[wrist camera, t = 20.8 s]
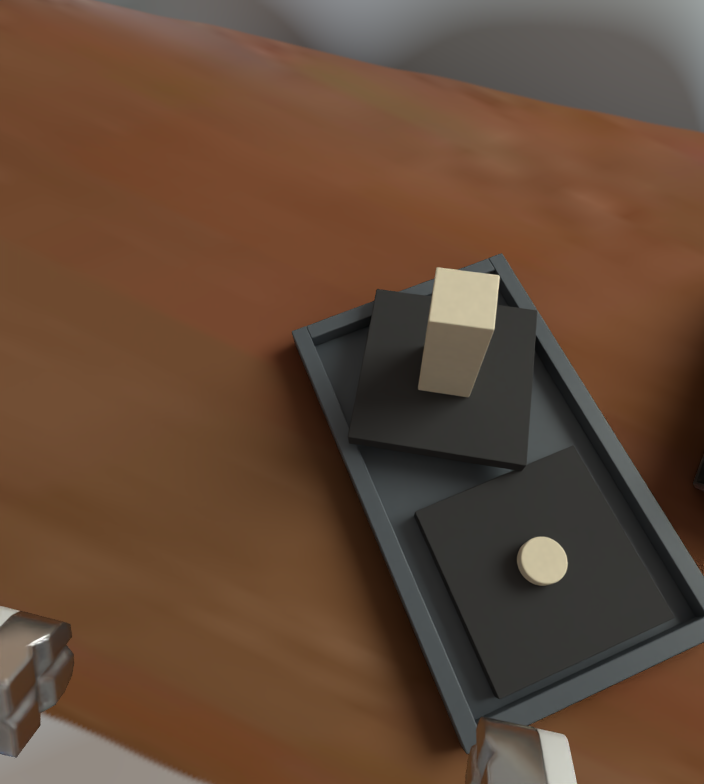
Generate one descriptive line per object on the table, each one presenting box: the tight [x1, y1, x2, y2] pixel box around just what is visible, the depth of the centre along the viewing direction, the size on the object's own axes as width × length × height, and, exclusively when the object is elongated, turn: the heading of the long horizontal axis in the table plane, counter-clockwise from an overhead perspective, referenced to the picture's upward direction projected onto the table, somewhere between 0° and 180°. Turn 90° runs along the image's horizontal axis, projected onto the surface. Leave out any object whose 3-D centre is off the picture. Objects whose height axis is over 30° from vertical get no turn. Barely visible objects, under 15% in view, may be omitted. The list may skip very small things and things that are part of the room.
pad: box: [414, 445, 675, 699], centre depth 31 cm, size 10×10×2 cm
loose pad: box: [348, 268, 537, 471], centre depth 31 cm, size 10×10×9 cm
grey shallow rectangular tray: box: [292, 253, 704, 754], centre depth 34 cm, size 15×25×2 cm, turn 22°
